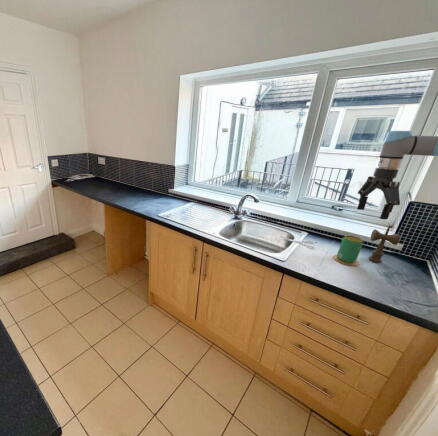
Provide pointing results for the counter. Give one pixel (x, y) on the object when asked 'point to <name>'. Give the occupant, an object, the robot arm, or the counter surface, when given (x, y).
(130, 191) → the counter surface
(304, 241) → the scissors
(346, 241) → the beverage can
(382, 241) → the kendama
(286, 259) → the counter surface
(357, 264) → the cork coaster
